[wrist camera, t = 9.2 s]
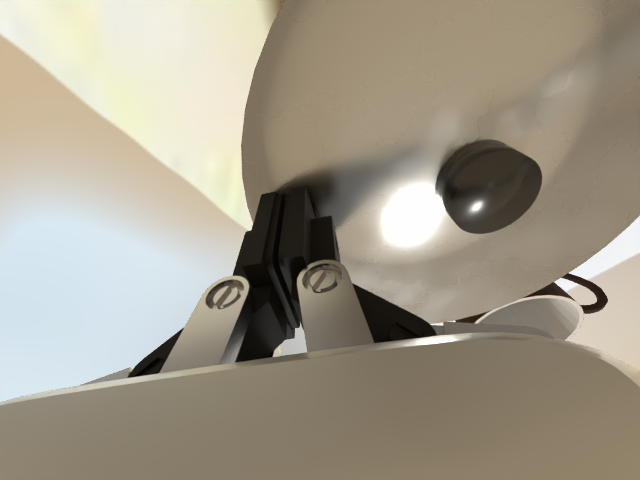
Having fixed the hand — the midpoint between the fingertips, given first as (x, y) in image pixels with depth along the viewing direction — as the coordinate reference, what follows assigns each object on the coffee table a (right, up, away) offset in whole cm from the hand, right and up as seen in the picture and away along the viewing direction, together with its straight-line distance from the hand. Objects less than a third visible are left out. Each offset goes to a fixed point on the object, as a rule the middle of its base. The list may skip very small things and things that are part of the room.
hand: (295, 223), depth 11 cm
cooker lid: (+7, +2, +1) cm, 7 cm away
